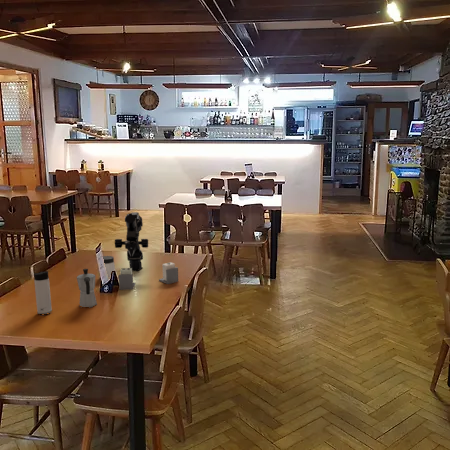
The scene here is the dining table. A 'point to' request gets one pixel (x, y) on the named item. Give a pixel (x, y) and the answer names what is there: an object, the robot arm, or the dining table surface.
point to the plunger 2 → (167, 266)
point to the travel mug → (42, 292)
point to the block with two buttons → (126, 271)
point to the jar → (109, 264)
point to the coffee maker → (87, 289)
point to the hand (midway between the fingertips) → (131, 256)
